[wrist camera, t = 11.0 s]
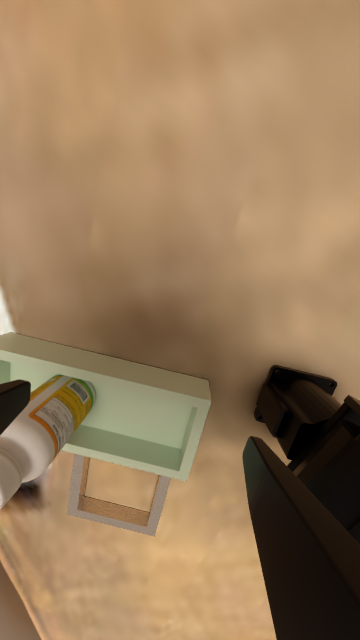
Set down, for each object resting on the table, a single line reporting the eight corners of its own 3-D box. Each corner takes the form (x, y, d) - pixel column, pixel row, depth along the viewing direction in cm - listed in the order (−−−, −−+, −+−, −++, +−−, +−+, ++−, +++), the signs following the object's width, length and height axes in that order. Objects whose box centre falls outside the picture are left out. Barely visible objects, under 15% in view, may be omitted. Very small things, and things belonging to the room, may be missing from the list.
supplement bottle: (47, 408, 21) (-71, 515, 12) (49, 365, 20) (-81, 446, 10) (94, 419, 21) (13, 536, 11) (99, 376, 20) (14, 468, 10)
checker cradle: (175, 454, 23) (173, 466, 21) (156, 521, 25) (154, 536, 24) (83, 431, 23) (75, 442, 21) (74, 500, 25) (67, 514, 24)
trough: (208, 380, 20) (211, 401, 17) (187, 450, 22) (186, 481, 19) (10, 332, 20) (-26, 343, 17) (9, 406, 23) (-24, 429, 19)
